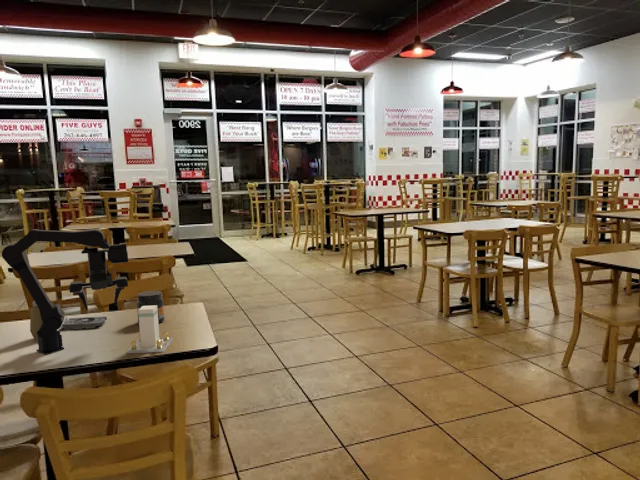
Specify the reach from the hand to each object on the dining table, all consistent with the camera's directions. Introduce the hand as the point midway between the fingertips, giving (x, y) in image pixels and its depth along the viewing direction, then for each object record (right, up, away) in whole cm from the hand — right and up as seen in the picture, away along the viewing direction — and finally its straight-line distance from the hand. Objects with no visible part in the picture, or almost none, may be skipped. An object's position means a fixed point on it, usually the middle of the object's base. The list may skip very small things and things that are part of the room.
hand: (101, 308), depth 178 cm
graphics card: (-18, -11, +23) cm, 31 cm away
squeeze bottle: (-26, -13, +9) cm, 30 cm away
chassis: (+19, -13, -3) cm, 23 cm away
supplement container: (+9, -10, +27) cm, 30 cm away
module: (+19, -12, -3) cm, 22 cm away
